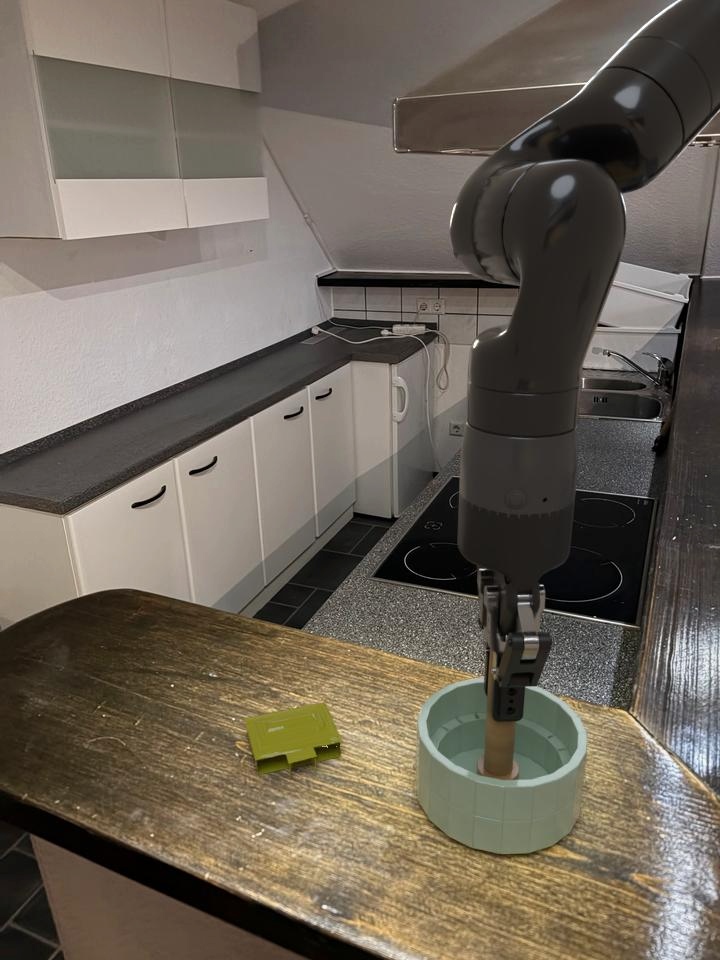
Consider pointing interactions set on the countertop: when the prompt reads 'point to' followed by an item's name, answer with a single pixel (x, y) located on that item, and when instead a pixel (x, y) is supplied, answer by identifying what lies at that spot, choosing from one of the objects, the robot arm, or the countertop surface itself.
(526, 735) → the bowl
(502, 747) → the stirring stick
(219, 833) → the countertop surface
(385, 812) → the countertop surface
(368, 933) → the countertop surface
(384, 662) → the countertop surface
